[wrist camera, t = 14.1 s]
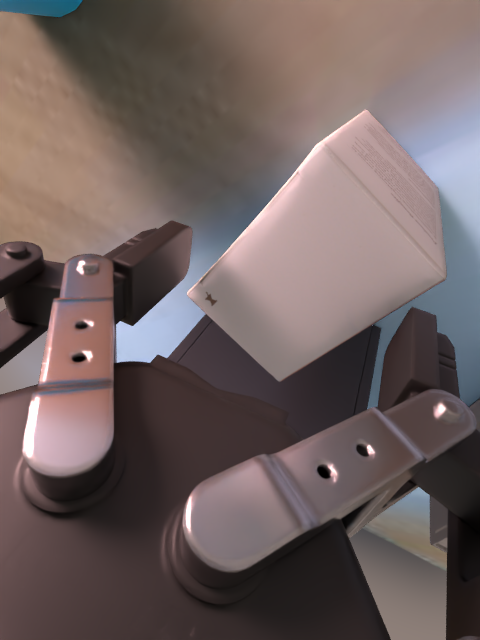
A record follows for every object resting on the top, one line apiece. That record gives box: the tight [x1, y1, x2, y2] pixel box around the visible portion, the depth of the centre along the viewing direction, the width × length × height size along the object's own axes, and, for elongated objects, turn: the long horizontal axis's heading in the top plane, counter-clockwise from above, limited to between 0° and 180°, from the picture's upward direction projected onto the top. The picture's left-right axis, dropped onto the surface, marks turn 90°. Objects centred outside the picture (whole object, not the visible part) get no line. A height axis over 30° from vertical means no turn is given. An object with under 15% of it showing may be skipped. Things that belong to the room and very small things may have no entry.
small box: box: [187, 110, 447, 382], centre depth 17 cm, size 8×6×10 cm
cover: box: [167, 314, 381, 440], centre depth 22 cm, size 10×12×18 cm
